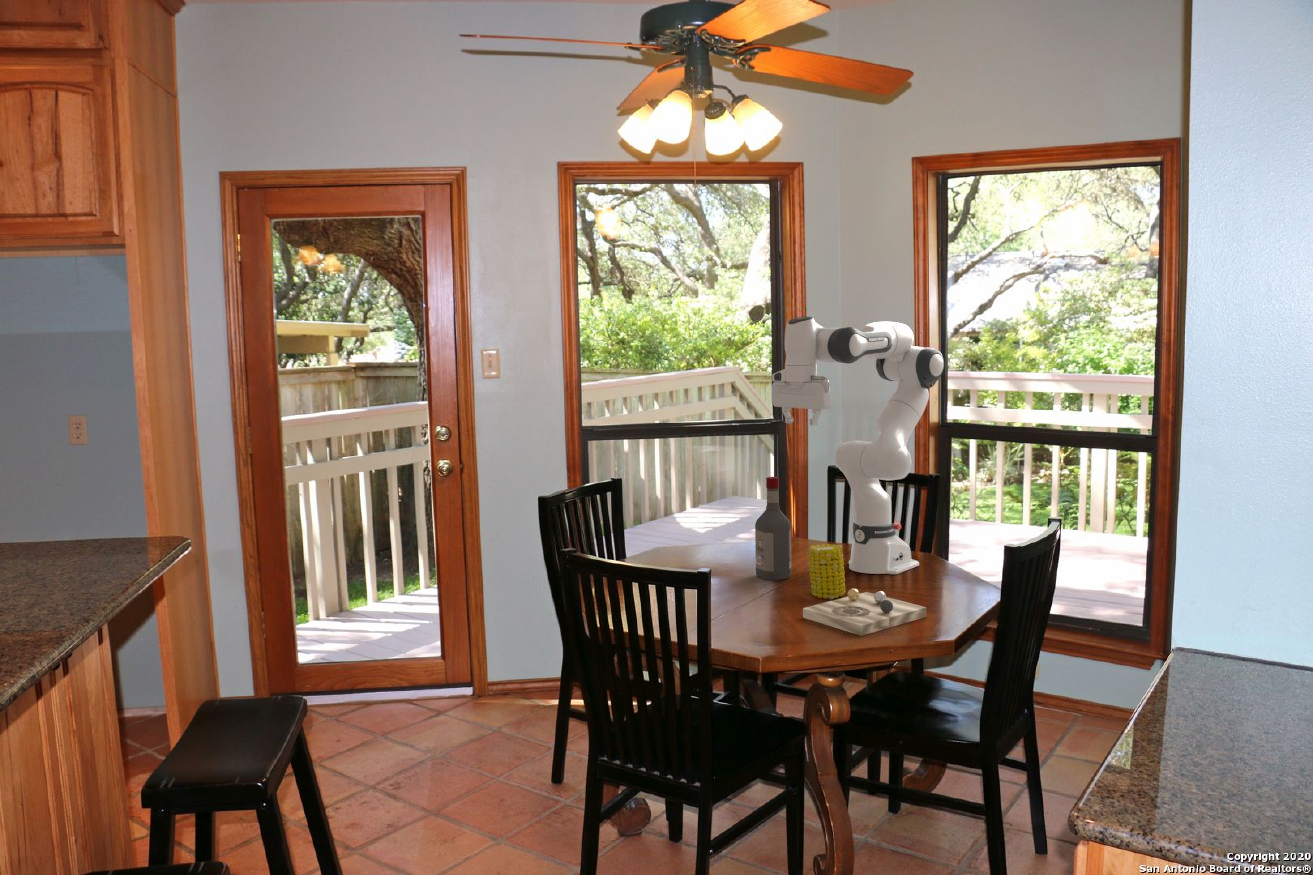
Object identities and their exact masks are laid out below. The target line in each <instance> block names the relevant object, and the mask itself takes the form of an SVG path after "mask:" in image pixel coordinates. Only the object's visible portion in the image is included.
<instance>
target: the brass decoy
mask: <svg viewBox="0 0 1313 875" xmlns="http://www.w3.org/2000/svg"><path fill="white" fill-rule="evenodd" d="M846 594H847V596H846V597H848V598H849V599H850V600H852V601H855V600H857V599H858V598H859V596H860V591H859V590H858V589H857V588H849V590H848V591H847V593H846Z"/></svg>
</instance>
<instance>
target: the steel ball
mask: <svg viewBox="0 0 1313 875" xmlns="http://www.w3.org/2000/svg"><path fill="white" fill-rule="evenodd" d="M874 594H875V595H874V600H875V601H876V602H877V603H879V604H881V602H882V601H884V600H886V599H887V597H888V596H887V595H886V593H885V592H884V591H882V590H880V591H876V592H874Z"/></svg>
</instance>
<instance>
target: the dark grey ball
mask: <svg viewBox="0 0 1313 875" xmlns="http://www.w3.org/2000/svg"><path fill="white" fill-rule="evenodd" d="M880 608H881V610H882V611H883V612H885V613H889V612H891V611H892V609H893V604H892V602H891V601H889V600H884V601H882V602H881V604H880Z"/></svg>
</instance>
